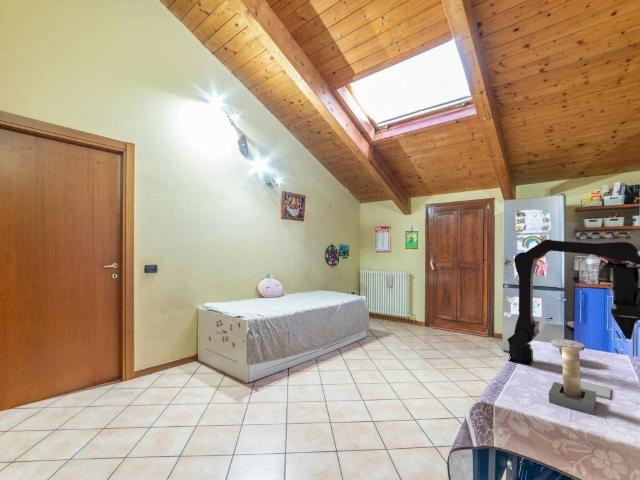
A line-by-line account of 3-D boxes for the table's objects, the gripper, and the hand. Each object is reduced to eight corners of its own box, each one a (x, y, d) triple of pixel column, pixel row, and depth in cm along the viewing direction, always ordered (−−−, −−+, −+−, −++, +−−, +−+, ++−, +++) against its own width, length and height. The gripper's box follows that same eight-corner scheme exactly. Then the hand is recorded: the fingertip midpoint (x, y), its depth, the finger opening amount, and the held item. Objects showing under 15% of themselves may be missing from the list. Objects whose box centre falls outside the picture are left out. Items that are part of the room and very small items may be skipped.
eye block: (548, 402, 81) (548, 392, 81) (554, 390, 88) (554, 381, 88) (593, 414, 75) (593, 404, 75) (596, 401, 81) (595, 391, 81)
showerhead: (557, 334, 117) (589, 341, 108) (557, 353, 117) (590, 361, 108) (543, 338, 112) (576, 346, 104) (544, 358, 112) (577, 367, 103)
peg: (563, 401, 81) (560, 349, 82) (565, 397, 84) (562, 346, 84) (580, 406, 79) (578, 352, 79) (582, 401, 81) (579, 349, 81)
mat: (571, 390, 87) (571, 388, 87) (574, 381, 93) (574, 379, 93) (609, 399, 82) (609, 397, 82) (610, 389, 87) (610, 387, 87)
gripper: (668, 288, 78) (672, 349, 78) (663, 281, 91) (667, 333, 91) (609, 285, 86) (612, 340, 86) (612, 279, 99) (615, 327, 99)
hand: (628, 335), depth 90 cm, fingers open, 9 cm apart
